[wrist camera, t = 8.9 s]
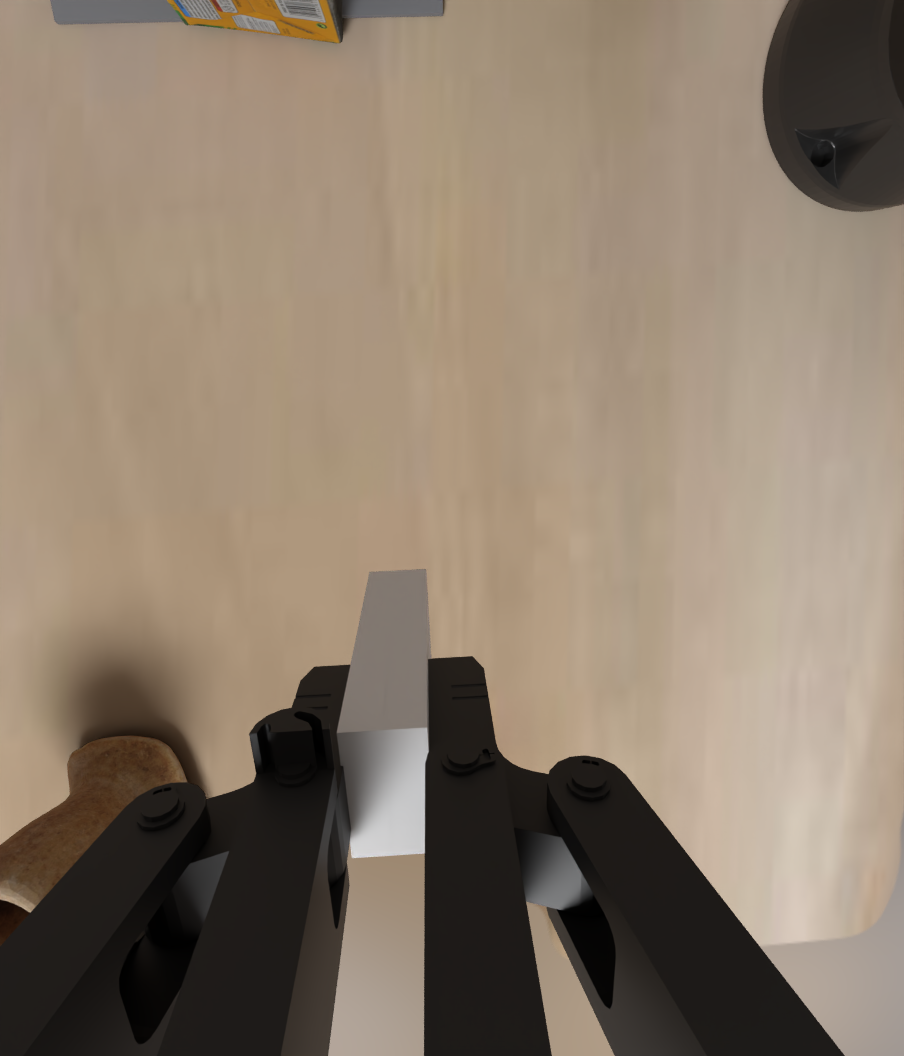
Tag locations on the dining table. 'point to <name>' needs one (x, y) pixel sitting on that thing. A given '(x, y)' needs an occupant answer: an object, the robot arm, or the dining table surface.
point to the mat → (149, 4)
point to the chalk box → (267, 16)
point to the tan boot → (78, 818)
